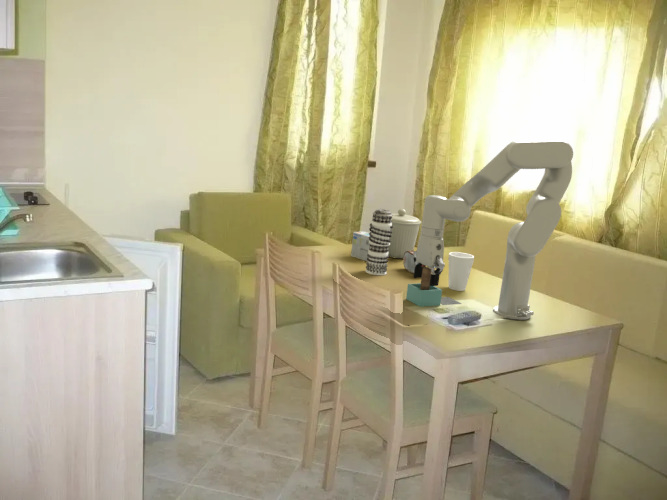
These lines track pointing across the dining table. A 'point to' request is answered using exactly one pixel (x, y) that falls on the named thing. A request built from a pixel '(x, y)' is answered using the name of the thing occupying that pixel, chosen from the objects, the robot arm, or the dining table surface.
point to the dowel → (425, 278)
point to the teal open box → (423, 295)
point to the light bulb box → (360, 245)
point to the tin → (409, 261)
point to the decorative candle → (379, 242)
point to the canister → (403, 234)
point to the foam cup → (459, 270)
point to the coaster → (448, 301)
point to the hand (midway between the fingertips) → (425, 281)
